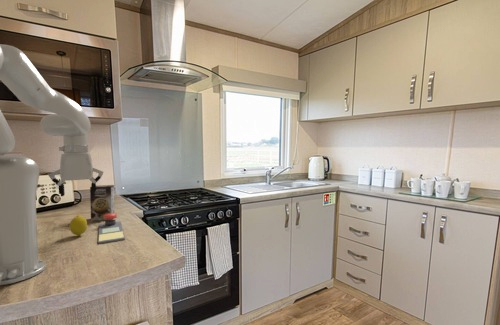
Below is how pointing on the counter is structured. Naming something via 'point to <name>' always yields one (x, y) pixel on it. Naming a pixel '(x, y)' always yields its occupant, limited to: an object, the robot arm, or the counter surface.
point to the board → (110, 231)
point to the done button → (110, 216)
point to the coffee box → (102, 202)
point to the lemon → (78, 225)
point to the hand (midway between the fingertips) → (78, 194)
